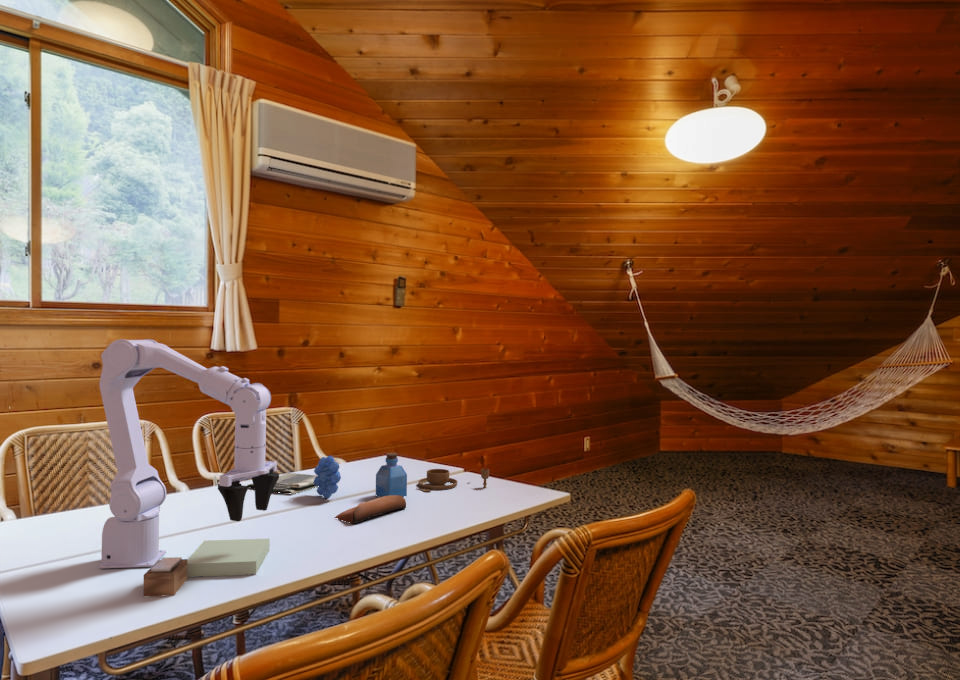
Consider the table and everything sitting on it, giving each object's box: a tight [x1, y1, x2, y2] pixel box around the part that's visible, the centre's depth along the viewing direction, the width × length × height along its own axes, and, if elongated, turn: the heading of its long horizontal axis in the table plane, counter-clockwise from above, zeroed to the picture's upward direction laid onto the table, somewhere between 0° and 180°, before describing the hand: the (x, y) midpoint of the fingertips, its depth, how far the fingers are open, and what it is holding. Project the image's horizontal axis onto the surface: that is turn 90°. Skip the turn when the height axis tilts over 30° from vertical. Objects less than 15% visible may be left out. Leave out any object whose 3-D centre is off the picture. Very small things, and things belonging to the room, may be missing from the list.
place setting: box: [417, 468, 490, 493], centre depth 185 cm, size 18×20×6 cm
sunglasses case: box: [334, 495, 407, 525], centre depth 156 cm, size 18×7×7 cm
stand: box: [187, 538, 271, 578], centre depth 122 cm, size 13×13×2 cm
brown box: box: [142, 558, 188, 597], centre depth 110 cm, size 5×7×4 cm
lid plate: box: [150, 556, 183, 573], centre depth 110 cm, size 3×5×2 cm, turn 6°
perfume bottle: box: [375, 452, 408, 498], centre depth 174 cm, size 6×6×12 cm
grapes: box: [313, 455, 342, 499], centre depth 171 cm, size 12×7×12 cm, turn 46°
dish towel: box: [246, 472, 318, 496], centre depth 184 cm, size 19×18×3 cm
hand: (249, 514), depth 121 cm, fingers open, 7 cm apart
